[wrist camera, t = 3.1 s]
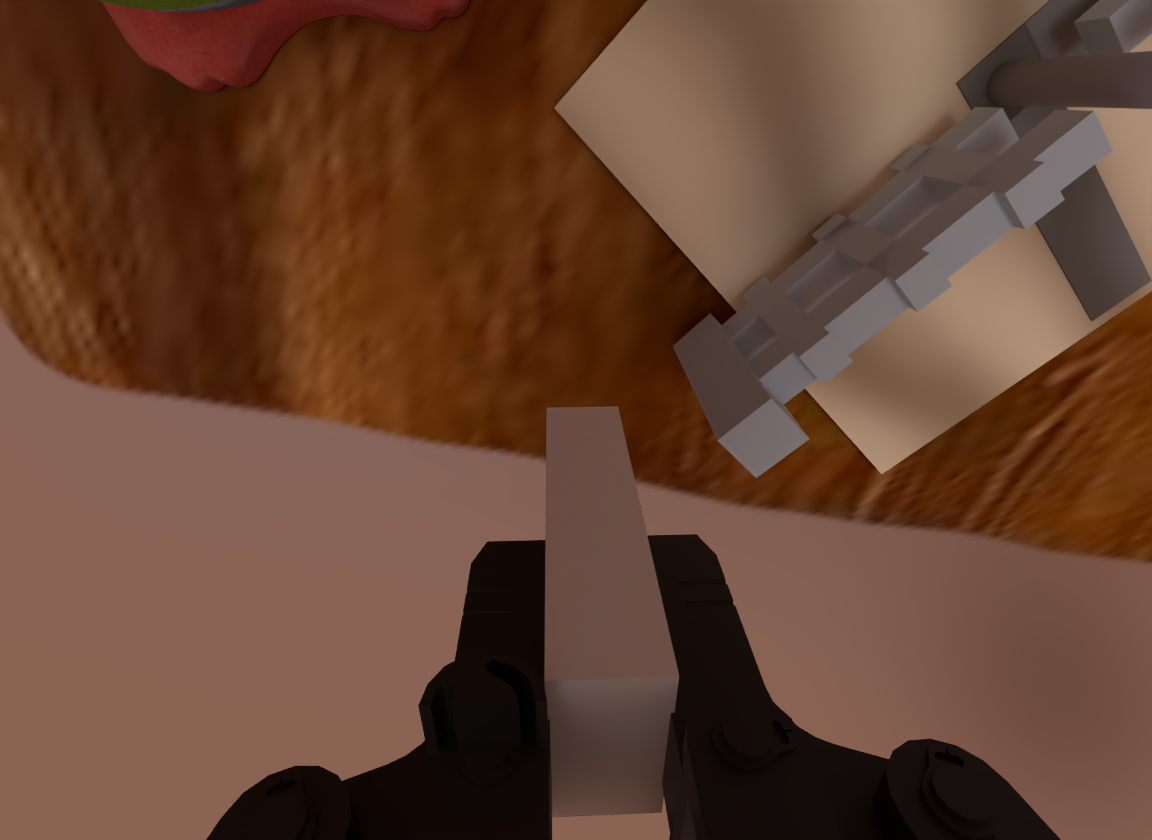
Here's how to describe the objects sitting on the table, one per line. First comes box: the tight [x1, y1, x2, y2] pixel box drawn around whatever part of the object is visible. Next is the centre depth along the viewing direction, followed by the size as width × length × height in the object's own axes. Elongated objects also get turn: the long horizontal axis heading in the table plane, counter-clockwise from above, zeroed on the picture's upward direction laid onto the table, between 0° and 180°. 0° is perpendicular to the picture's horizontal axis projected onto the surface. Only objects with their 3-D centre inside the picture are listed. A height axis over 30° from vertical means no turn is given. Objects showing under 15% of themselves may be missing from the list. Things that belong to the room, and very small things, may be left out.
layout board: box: [554, 0, 1152, 474], centre depth 19 cm, size 22×20×1 cm
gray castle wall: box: [673, 107, 1113, 478], centre depth 17 cm, size 12×2×7 cm, turn 135°
